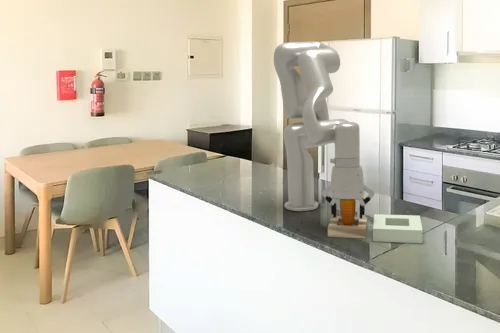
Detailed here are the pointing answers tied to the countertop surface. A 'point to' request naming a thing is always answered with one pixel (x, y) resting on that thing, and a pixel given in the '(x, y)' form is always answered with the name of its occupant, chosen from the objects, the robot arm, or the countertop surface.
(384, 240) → the pale green square frame
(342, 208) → the carrot
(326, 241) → the countertop surface
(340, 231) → the socket block
